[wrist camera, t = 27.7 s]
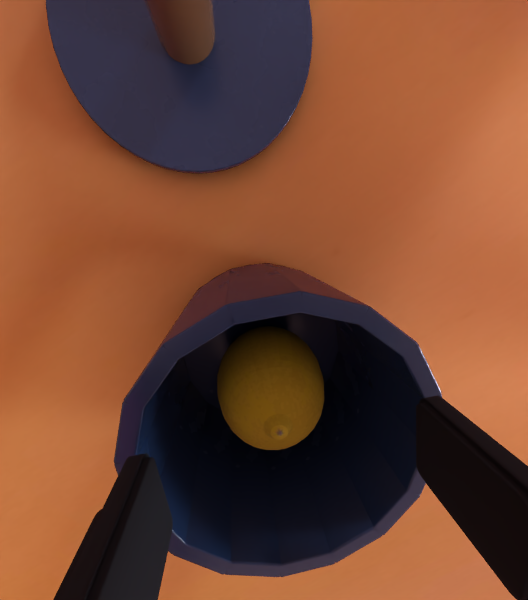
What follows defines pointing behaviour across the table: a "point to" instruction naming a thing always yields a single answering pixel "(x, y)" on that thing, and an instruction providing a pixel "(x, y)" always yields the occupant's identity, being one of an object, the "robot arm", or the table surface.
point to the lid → (185, 74)
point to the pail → (290, 461)
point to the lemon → (270, 388)
